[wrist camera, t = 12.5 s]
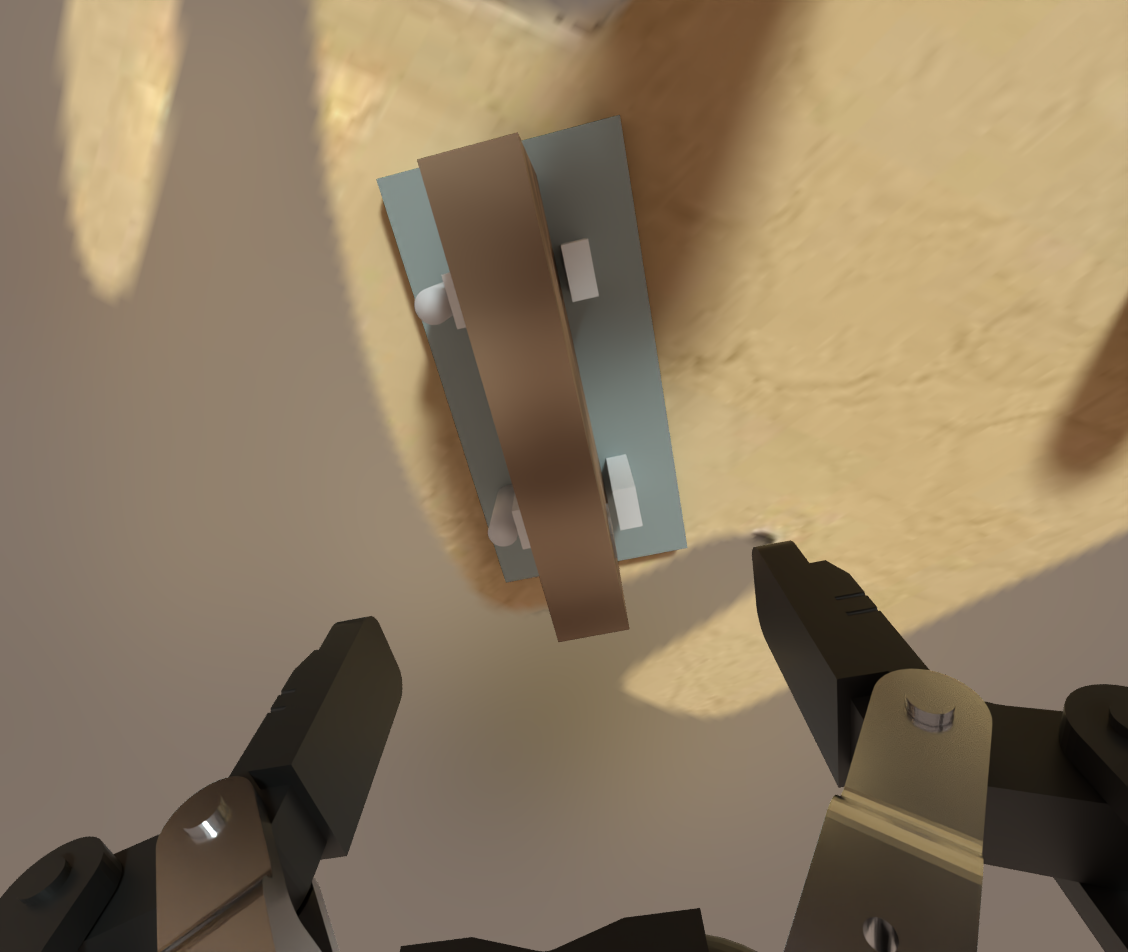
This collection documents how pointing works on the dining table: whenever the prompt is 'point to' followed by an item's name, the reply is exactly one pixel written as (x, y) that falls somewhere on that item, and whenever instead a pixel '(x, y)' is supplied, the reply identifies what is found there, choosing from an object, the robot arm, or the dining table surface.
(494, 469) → the pegged base plate
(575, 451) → the wooden board
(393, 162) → the dining table surface
